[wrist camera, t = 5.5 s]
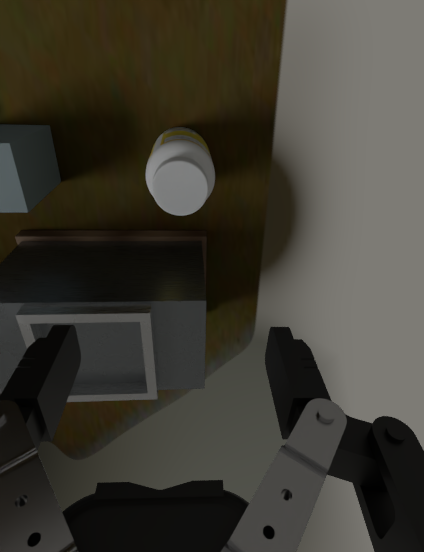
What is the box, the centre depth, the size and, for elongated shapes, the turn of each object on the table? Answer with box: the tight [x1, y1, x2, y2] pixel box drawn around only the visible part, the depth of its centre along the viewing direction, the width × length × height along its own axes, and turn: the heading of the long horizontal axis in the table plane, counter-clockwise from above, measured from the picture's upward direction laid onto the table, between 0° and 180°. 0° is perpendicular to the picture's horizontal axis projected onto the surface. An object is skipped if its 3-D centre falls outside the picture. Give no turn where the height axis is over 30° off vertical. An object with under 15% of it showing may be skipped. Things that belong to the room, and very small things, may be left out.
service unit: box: [0, 230, 207, 402], centre depth 33 cm, size 19×11×13 cm, turn 88°
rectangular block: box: [0, 124, 61, 212], centre depth 28 cm, size 5×5×8 cm
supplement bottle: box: [146, 127, 215, 216], centre depth 28 cm, size 5×5×10 cm
